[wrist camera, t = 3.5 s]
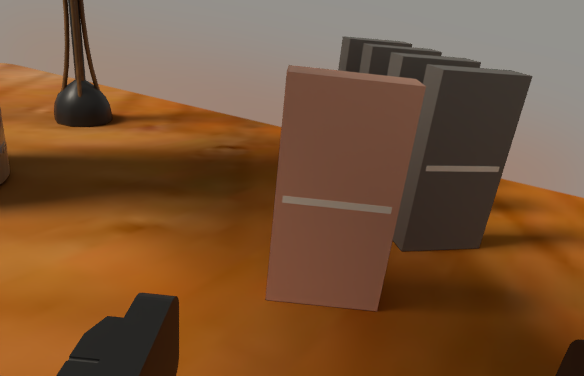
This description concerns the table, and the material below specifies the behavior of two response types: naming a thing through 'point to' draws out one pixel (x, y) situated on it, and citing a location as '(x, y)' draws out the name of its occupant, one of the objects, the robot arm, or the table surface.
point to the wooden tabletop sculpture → (79, 78)
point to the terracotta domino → (339, 184)
